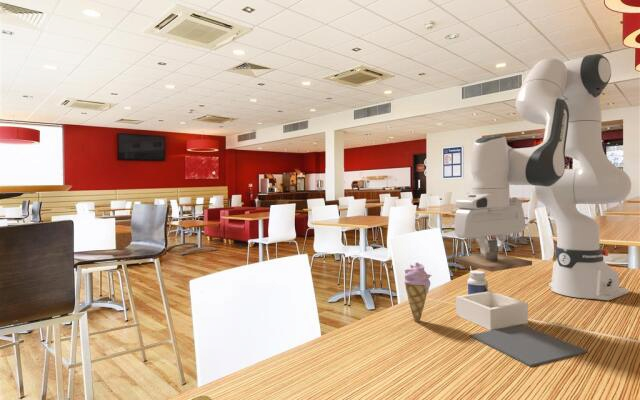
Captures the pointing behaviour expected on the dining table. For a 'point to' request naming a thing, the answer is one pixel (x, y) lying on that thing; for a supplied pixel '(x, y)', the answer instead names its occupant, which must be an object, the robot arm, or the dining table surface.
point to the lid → (492, 259)
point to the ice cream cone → (417, 288)
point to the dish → (492, 310)
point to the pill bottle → (477, 282)
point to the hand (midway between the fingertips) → (491, 252)
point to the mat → (528, 345)
